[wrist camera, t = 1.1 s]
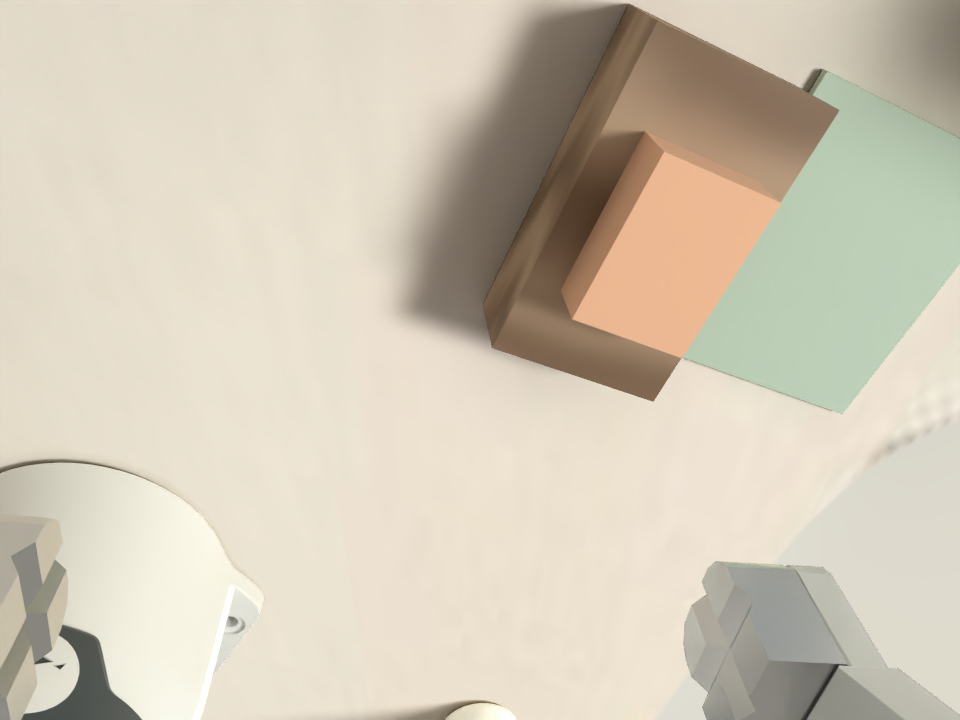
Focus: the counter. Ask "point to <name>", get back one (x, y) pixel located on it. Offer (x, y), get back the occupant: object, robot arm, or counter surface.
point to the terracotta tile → (666, 246)
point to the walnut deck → (600, 163)
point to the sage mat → (843, 255)
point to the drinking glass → (481, 712)
